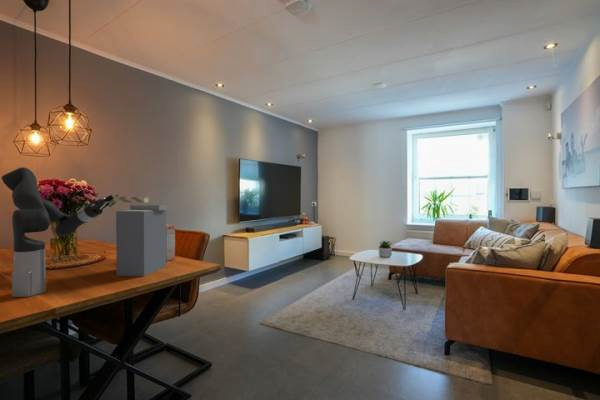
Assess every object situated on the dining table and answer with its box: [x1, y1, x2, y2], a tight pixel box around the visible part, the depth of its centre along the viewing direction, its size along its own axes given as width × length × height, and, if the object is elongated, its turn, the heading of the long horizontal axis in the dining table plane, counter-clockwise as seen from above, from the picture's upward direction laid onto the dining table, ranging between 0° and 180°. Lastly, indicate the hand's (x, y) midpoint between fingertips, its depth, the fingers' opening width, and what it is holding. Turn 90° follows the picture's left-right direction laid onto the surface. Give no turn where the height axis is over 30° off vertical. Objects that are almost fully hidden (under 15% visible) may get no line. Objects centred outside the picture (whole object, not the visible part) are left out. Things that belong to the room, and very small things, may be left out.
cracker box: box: [166, 223, 176, 262], centre depth 181 cm, size 14×6×21 cm, turn 58°
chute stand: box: [115, 204, 169, 277], centre depth 153 cm, size 16×20×33 cm
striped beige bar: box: [103, 195, 150, 204], centre depth 158 cm, size 22×4×3 cm, turn 85°
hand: (115, 196), depth 159 cm, fingers closed on striped beige bar, 4 cm apart
